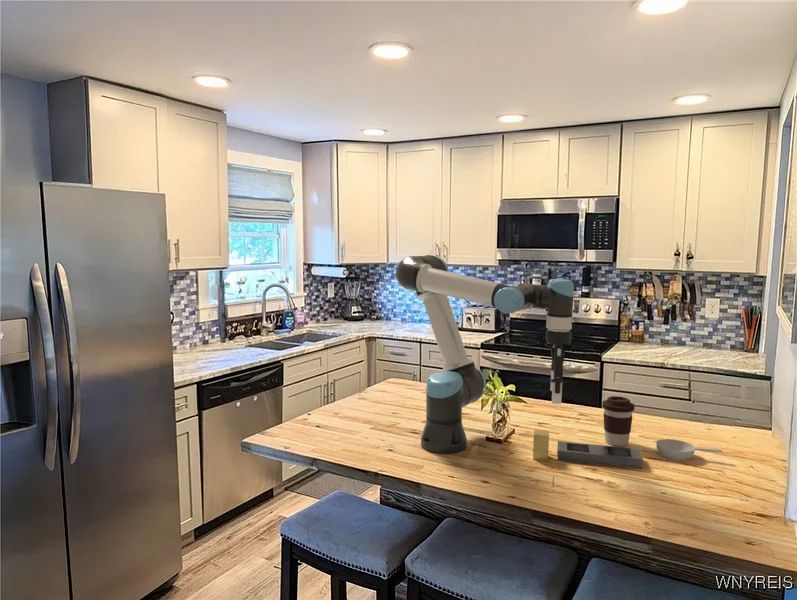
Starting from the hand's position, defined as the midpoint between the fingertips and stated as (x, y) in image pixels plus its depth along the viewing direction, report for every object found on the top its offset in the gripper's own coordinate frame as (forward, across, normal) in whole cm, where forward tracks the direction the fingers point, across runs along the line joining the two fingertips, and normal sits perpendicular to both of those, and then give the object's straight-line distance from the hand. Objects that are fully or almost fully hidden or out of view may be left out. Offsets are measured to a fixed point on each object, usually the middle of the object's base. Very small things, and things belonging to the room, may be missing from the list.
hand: (555, 397), depth 171 cm
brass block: (+18, -4, +4) cm, 19 cm away
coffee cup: (+18, +15, -21) cm, 32 cm away
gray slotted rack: (+18, -1, -13) cm, 23 cm away
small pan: (+18, +7, -41) cm, 45 cm away
